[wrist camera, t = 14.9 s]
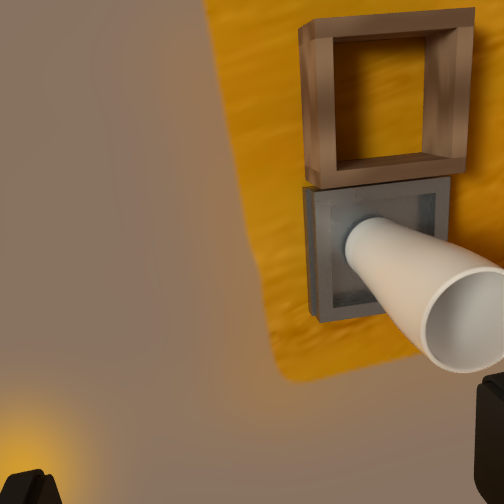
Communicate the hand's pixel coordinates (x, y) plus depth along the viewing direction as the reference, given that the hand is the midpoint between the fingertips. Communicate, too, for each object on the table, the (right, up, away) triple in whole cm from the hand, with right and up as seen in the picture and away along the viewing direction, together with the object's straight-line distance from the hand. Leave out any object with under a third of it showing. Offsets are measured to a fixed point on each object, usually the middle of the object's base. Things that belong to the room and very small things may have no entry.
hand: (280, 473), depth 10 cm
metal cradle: (+10, +6, +31) cm, 33 cm away
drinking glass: (+10, +5, +30) cm, 32 cm away
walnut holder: (+9, +17, +27) cm, 33 cm away
